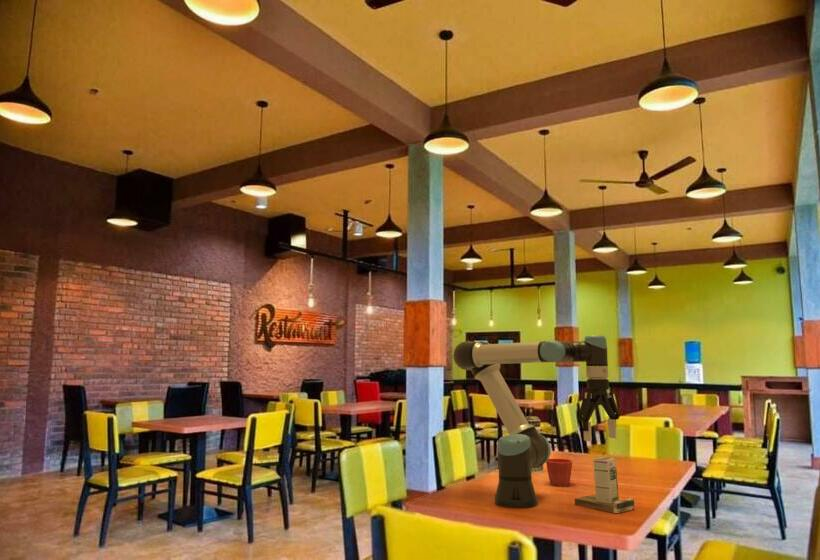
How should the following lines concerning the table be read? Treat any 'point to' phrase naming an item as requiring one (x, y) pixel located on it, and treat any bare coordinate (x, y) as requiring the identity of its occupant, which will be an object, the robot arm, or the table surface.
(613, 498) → the syrup box
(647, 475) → the table surface
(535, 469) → the decorative candle
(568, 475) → the flower pot
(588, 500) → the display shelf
